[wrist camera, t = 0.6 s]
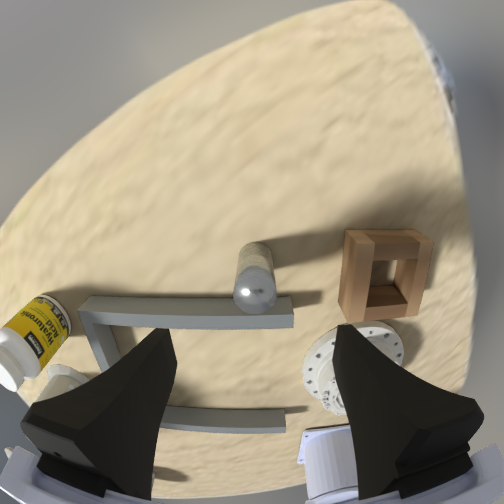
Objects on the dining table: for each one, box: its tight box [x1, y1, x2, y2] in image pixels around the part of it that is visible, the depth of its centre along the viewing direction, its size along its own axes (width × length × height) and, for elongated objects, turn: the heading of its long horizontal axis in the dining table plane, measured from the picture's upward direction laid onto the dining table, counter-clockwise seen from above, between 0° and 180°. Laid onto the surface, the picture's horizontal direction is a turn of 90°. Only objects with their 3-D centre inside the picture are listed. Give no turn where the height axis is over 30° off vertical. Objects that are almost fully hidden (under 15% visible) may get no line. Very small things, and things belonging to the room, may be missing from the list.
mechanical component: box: [302, 321, 404, 416], centre depth 23 cm, size 10×4×10 cm
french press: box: [5, 364, 90, 458], centre depth 17 cm, size 10×12×25 cm
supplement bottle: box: [0, 295, 71, 392], centre depth 19 cm, size 5×5×10 cm
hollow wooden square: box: [338, 229, 434, 323], centre depth 20 cm, size 6×6×3 cm
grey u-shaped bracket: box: [77, 296, 294, 434], centre depth 24 cm, size 15×17×2 cm
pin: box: [233, 242, 277, 314], centre depth 18 cm, size 2×2×6 cm
